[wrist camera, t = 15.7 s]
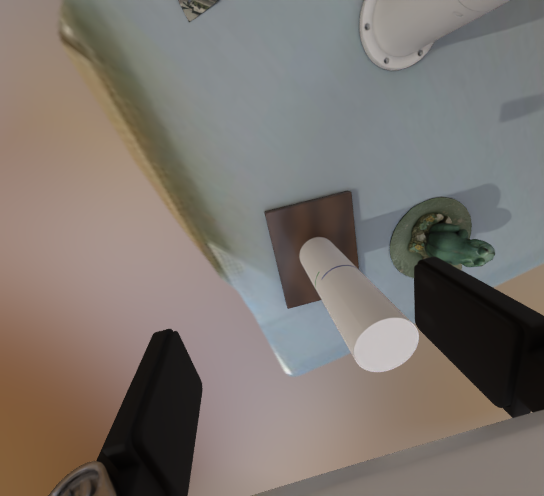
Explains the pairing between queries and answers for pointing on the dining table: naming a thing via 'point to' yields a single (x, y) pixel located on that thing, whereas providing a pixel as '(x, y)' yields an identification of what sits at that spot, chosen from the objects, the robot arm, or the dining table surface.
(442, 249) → the frog figurine
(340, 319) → the cylindrical container
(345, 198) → the board
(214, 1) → the eiffel tower figurine
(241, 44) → the dining table surface
